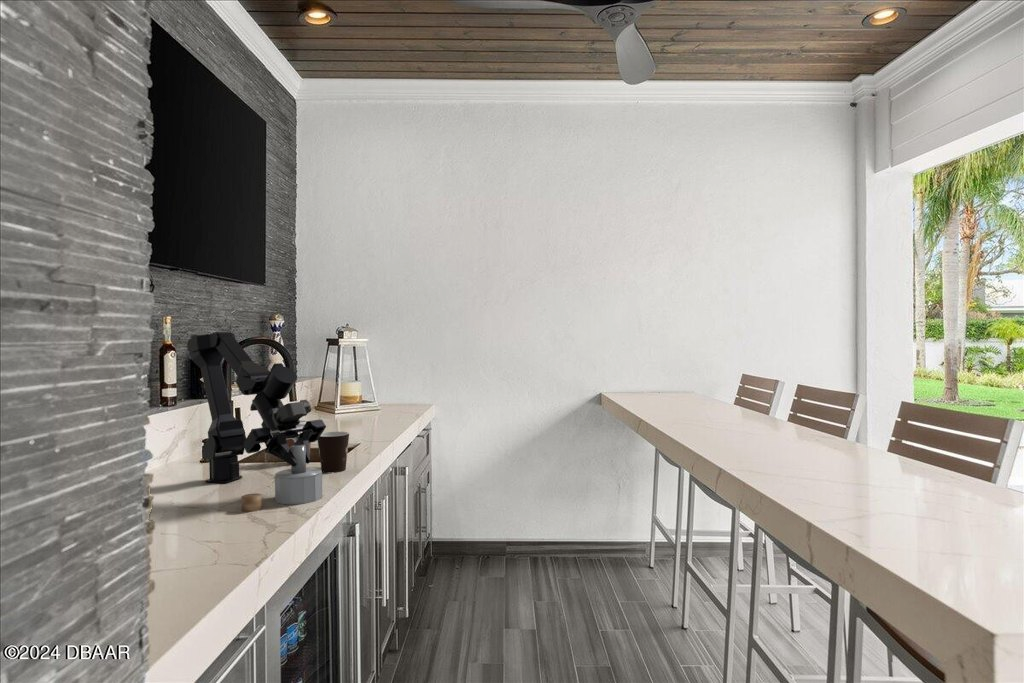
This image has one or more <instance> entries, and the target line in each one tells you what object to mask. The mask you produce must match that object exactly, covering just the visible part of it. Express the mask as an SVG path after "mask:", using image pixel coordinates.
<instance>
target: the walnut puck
mask: <svg viewBox="0 0 1024 683" xmlns="http://www.w3.org/2000/svg"><path fill="white" fill-rule="evenodd" d="M262 498H263V496H262V494H261V493H247V494H244V495H241V500H240V501H241V511H242V513H243V512H244V513H254V512H258V511H261V510H262V509H263V506H262V505H263V501H262Z"/></svg>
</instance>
